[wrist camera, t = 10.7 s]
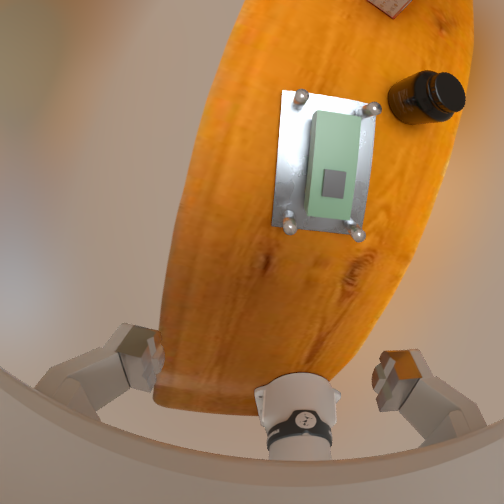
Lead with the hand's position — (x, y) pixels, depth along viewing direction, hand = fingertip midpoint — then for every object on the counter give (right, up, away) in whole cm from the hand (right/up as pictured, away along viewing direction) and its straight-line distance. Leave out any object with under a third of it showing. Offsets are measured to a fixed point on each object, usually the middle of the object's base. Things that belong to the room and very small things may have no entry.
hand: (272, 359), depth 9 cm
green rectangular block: (+9, +15, +23) cm, 29 cm away
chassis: (+9, +16, +26) cm, 32 cm away
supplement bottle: (+22, +26, +21) cm, 40 cm away
